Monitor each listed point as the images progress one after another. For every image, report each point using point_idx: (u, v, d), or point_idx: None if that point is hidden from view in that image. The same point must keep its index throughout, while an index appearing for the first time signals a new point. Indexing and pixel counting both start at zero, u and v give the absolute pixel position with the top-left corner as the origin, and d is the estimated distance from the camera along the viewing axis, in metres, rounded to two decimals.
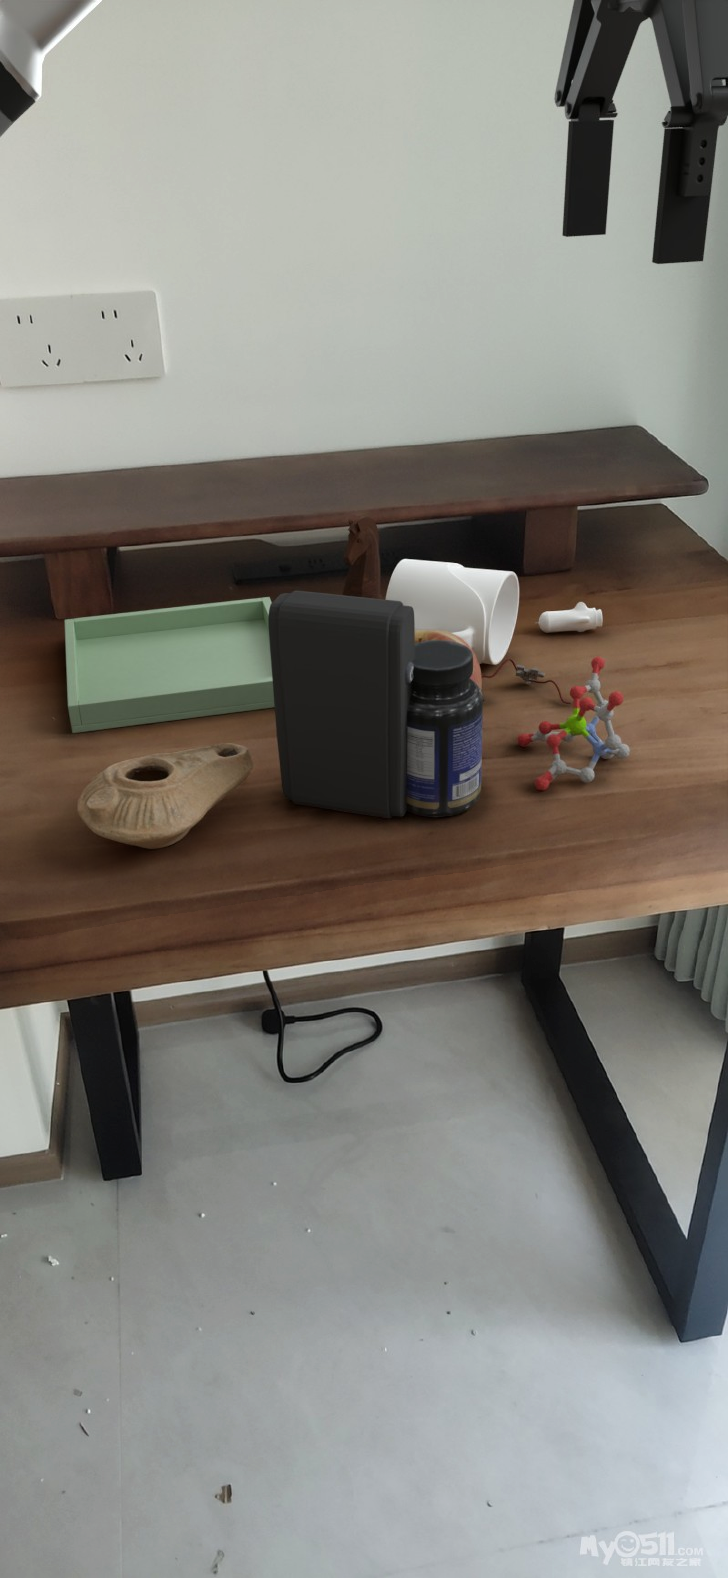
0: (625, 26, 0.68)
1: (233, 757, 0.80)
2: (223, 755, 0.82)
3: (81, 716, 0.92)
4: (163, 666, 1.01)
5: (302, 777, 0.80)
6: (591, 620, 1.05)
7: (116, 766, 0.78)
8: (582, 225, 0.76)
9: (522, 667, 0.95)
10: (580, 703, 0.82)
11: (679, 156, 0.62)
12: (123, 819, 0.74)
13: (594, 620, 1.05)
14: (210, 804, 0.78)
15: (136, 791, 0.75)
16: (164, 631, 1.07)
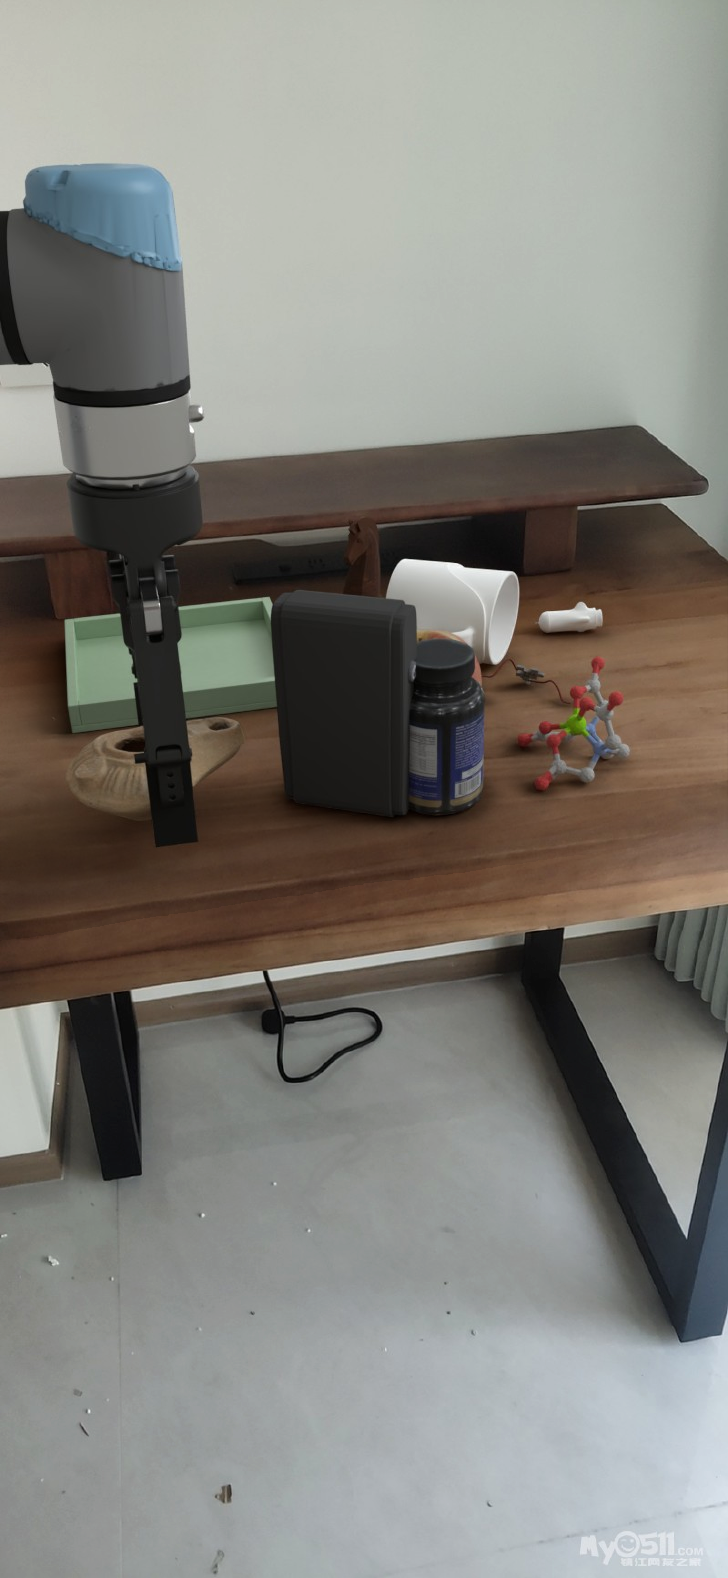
0: None
1: (224, 731, 0.80)
2: (214, 729, 0.81)
3: (81, 716, 0.92)
4: None
5: (304, 776, 0.80)
6: (591, 620, 1.05)
7: (106, 737, 0.78)
8: None
9: (522, 667, 0.95)
10: (580, 703, 0.82)
11: (157, 774, 0.72)
12: (110, 789, 0.74)
13: (594, 620, 1.05)
14: (199, 777, 0.77)
15: (124, 761, 0.74)
16: None
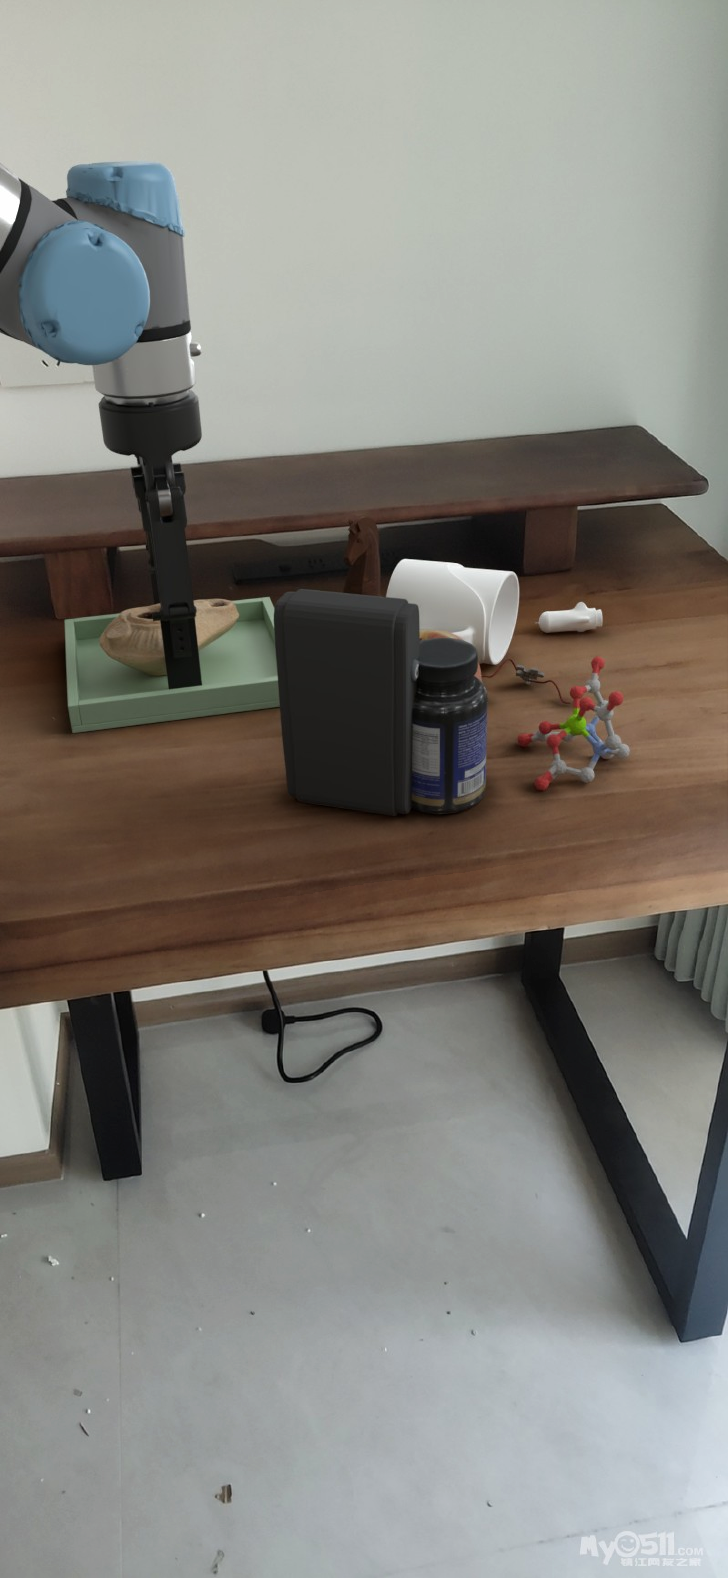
0: None
1: (222, 607, 1.01)
2: None
3: (81, 716, 0.92)
4: None
5: (307, 774, 0.80)
6: (591, 620, 1.05)
7: (130, 611, 0.99)
8: None
9: (522, 667, 0.95)
10: (580, 703, 0.82)
11: (170, 631, 0.94)
12: (134, 646, 0.96)
13: (594, 620, 1.05)
14: (203, 640, 0.99)
15: (145, 625, 0.96)
16: None
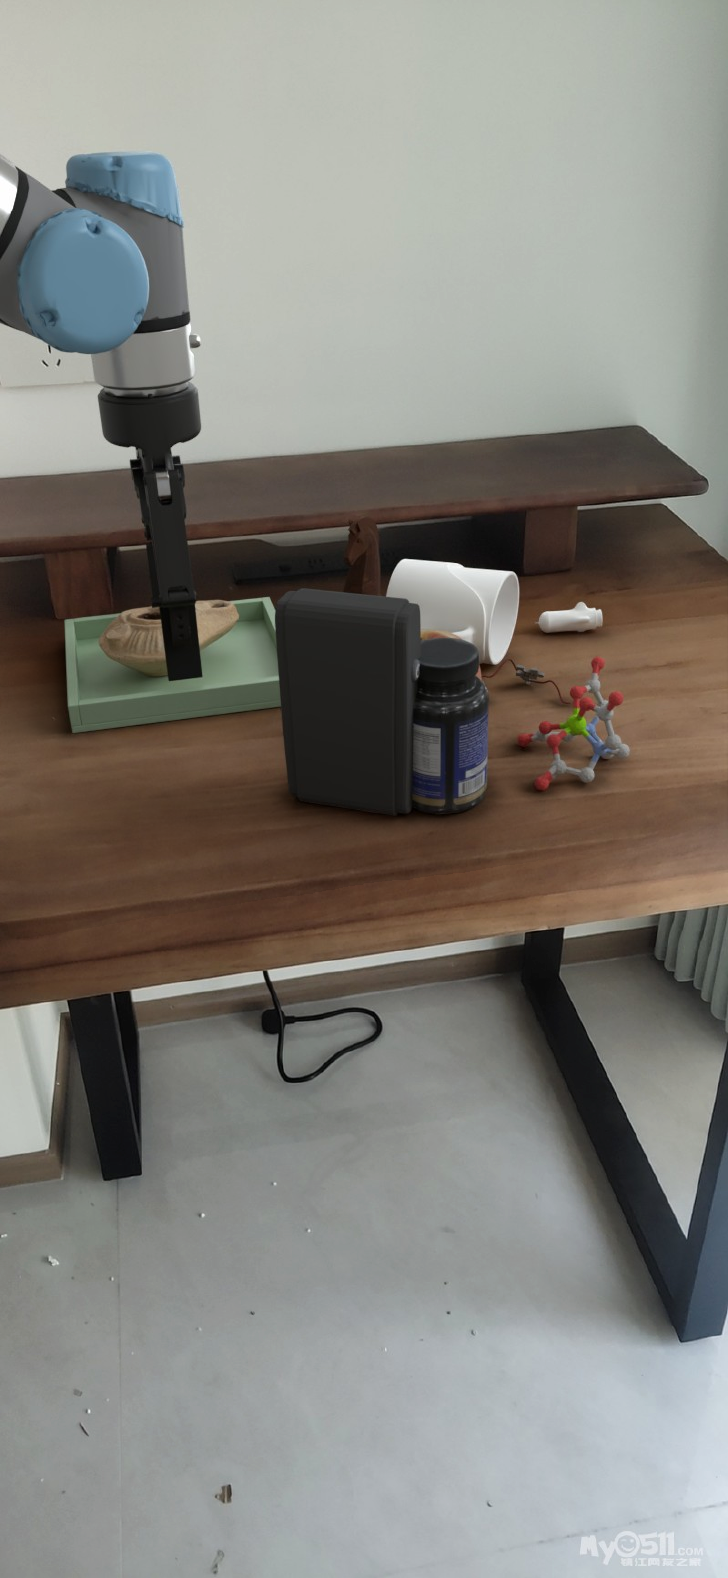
0: None
1: (222, 608, 1.01)
2: None
3: (81, 716, 0.92)
4: None
5: (308, 774, 0.81)
6: (591, 620, 1.05)
7: (129, 611, 0.99)
8: None
9: (522, 667, 0.95)
10: (580, 703, 0.82)
11: (169, 619, 0.91)
12: (134, 647, 0.96)
13: (594, 620, 1.05)
14: (203, 641, 0.99)
15: (144, 626, 0.96)
16: None
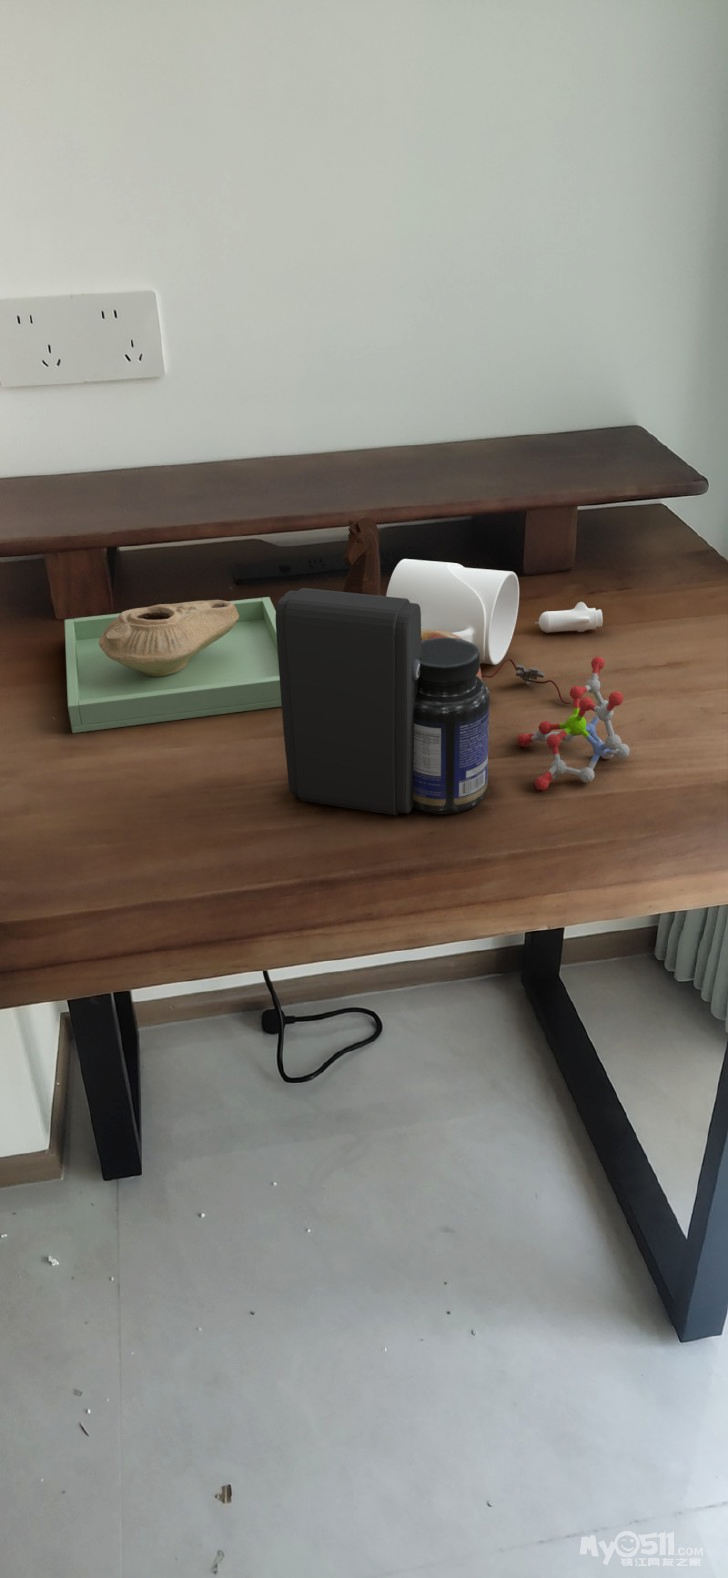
0: None
1: (222, 608, 1.01)
2: None
3: (81, 716, 0.92)
4: None
5: (309, 773, 0.81)
6: (591, 620, 1.05)
7: (129, 611, 0.99)
8: None
9: (522, 667, 0.95)
10: (580, 703, 0.82)
11: None
12: (134, 647, 0.96)
13: (594, 620, 1.05)
14: (203, 641, 0.99)
15: (144, 626, 0.96)
16: None
